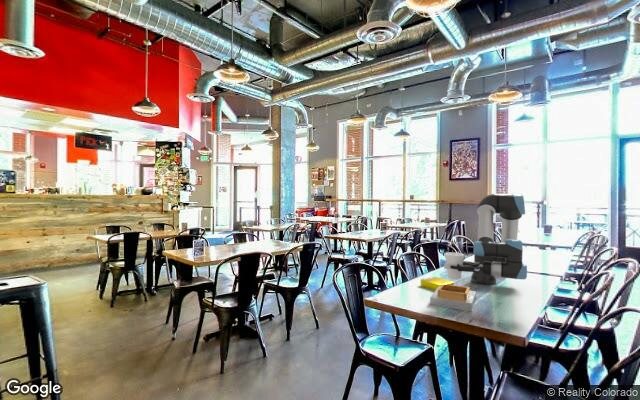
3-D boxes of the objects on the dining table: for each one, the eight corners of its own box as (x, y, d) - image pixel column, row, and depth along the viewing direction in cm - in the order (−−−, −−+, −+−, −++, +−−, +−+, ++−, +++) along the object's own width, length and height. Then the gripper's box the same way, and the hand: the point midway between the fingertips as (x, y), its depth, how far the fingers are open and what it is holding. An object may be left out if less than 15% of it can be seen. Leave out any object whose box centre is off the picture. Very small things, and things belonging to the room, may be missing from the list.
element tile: (438, 292, 203) (438, 284, 203) (419, 286, 216) (419, 278, 216) (455, 288, 211) (455, 281, 211) (435, 283, 224) (435, 275, 224)
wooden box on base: (438, 293, 200) (438, 281, 200) (476, 298, 191) (476, 285, 190) (430, 304, 179) (430, 291, 179) (471, 311, 170) (472, 297, 170)
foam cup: (449, 275, 191) (450, 251, 191) (466, 278, 185) (466, 254, 184) (442, 277, 185) (442, 253, 184) (459, 281, 178) (459, 256, 178)
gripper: (490, 280, 166) (442, 275, 177) (492, 271, 185) (448, 267, 196) (490, 265, 166) (442, 260, 177) (492, 258, 185) (449, 254, 196)
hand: (445, 264), depth 187 cm, fingers closed on foam cup, 9 cm apart
